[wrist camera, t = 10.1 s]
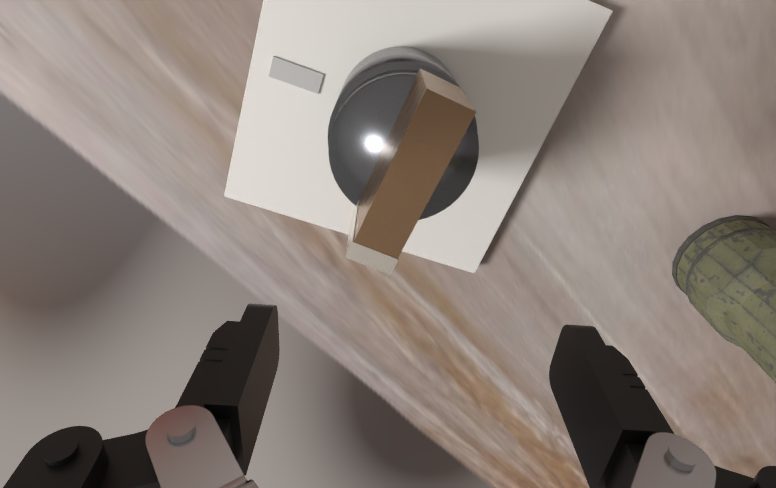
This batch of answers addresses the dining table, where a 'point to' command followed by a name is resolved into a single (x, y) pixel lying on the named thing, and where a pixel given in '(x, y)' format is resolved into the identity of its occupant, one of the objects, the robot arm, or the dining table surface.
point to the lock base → (485, 66)
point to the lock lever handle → (400, 158)
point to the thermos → (734, 283)
